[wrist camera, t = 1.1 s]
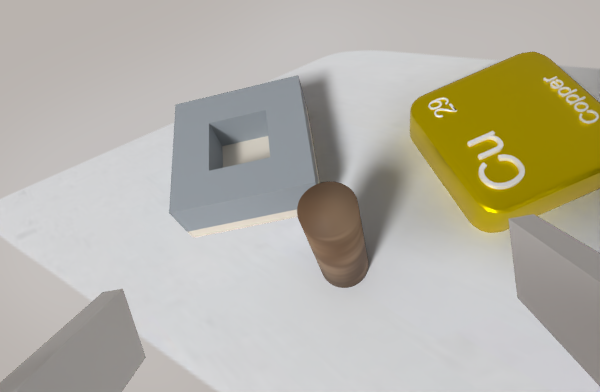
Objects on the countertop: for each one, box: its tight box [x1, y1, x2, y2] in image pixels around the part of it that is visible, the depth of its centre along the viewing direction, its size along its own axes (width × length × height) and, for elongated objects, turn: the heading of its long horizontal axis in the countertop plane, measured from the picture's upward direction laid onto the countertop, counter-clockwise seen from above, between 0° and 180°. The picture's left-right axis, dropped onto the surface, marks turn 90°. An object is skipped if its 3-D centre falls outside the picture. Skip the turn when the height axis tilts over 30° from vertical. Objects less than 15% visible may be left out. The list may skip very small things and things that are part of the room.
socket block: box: [169, 76, 320, 238], centre depth 45 cm, size 14×14×6 cm
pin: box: [297, 182, 368, 288], centre depth 35 cm, size 4×4×11 cm
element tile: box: [410, 52, 600, 233], centre depth 41 cm, size 15×15×5 cm
